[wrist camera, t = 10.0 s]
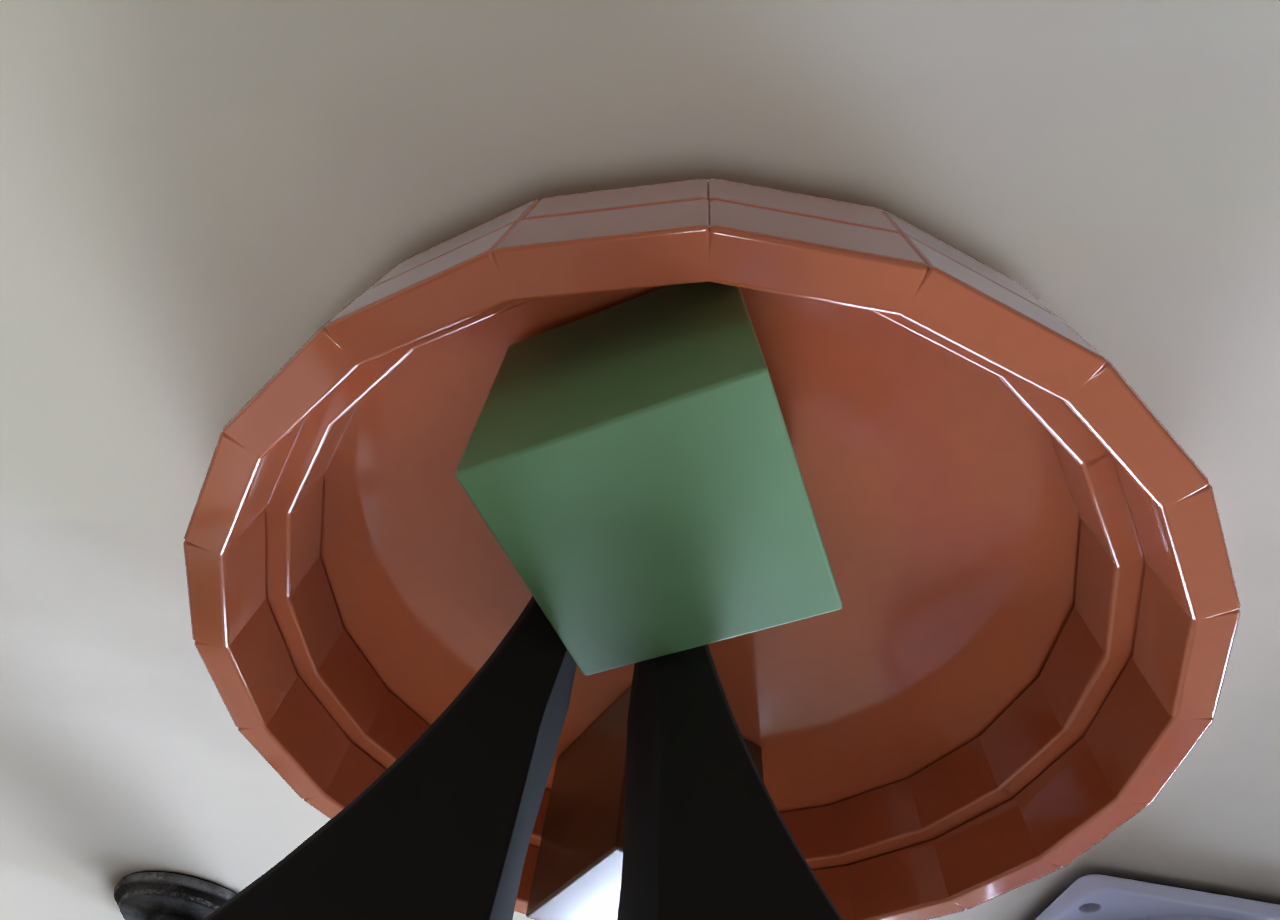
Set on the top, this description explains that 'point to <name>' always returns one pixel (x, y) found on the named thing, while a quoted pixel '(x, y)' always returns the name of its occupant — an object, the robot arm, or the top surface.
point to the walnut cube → (588, 824)
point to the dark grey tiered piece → (168, 897)
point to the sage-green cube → (648, 480)
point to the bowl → (843, 508)
